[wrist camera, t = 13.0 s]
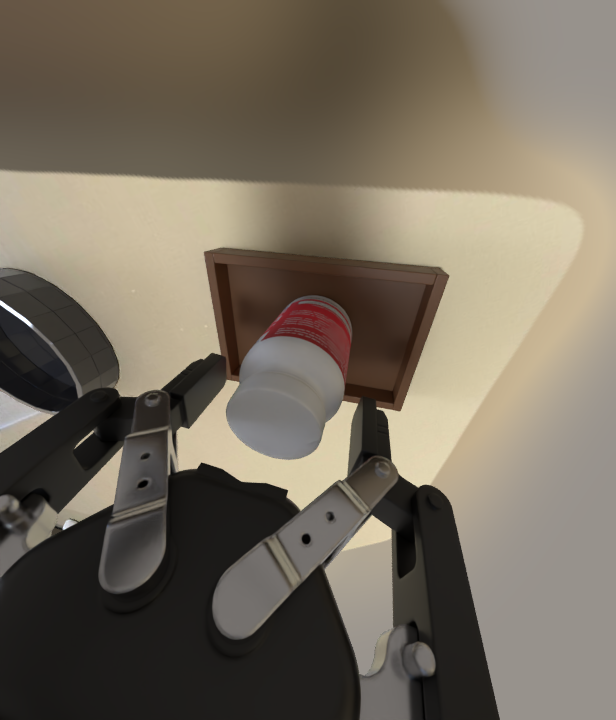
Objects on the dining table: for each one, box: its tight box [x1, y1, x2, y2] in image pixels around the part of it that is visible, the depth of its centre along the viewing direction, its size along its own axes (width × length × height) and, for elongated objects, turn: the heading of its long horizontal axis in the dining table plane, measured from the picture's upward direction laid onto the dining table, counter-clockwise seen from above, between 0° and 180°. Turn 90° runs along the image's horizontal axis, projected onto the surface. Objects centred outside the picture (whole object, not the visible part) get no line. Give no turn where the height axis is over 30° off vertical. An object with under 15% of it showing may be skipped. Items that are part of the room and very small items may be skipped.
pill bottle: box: [226, 295, 352, 460], centre depth 16 cm, size 6×6×11 cm
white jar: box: [63, 520, 78, 529], centre depth 69 cm, size 5×3×5 cm
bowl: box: [0, 269, 119, 415], centre depth 27 cm, size 16×16×4 cm
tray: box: [204, 248, 449, 411], centre depth 20 cm, size 16×11×2 cm
